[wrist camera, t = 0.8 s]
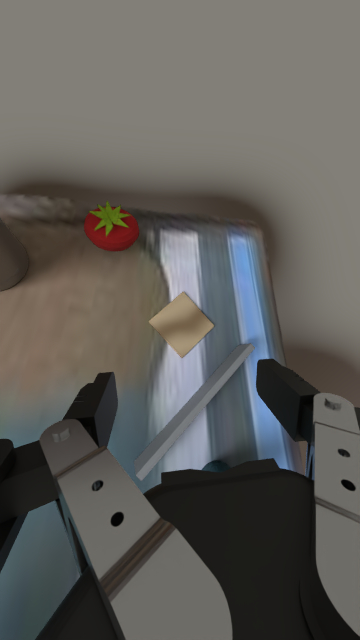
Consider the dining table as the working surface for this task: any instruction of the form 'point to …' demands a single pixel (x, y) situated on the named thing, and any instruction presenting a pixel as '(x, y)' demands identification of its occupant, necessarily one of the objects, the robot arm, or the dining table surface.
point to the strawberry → (111, 228)
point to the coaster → (181, 324)
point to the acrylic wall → (190, 411)
